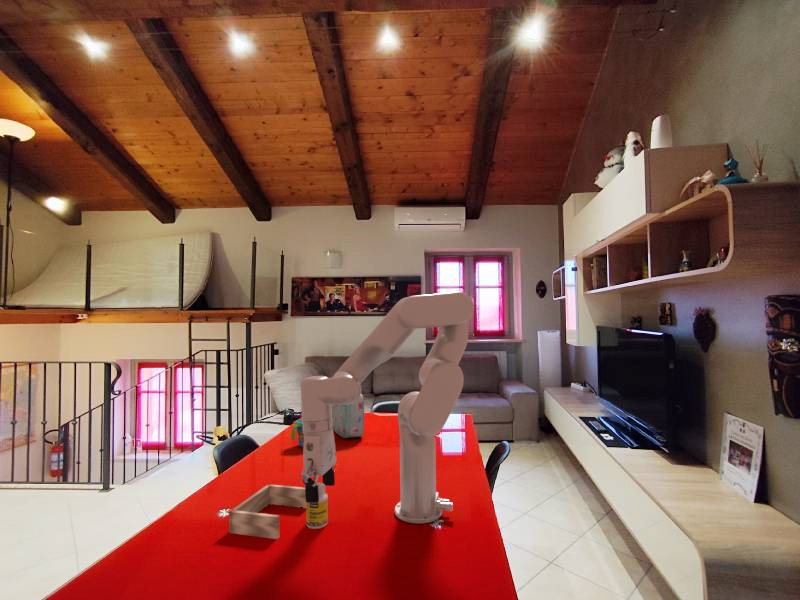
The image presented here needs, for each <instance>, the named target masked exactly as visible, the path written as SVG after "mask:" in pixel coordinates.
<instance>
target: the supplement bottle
mask: <svg viewBox="0 0 800 600" xmlns="http://www.w3.org/2000/svg"><path fill="white" fill-rule="evenodd" d="M316 485H318V493H319V502H318V503H309V502H307V506H306V508H305V509H306V510H305V513H306V516H305V519H306V520H305V523H306V526H307V527H308V528H309V529H313V530H316V529H317V530H318V529H322V528H324V527H325V526H326V525H327V524H328V521H329V519H328V517H329V516H328V515H329V511H328V507H329V505H328V504H329V501H328V500H329V498H328V497H329V495H328V493H327V492H325V491H326V486H325V484H324V483H323V482H317V484H316Z"/></svg>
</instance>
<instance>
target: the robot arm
mask: <svg viewBox="0 0 800 600" xmlns="http://www.w3.org/2000/svg"><path fill="white" fill-rule="evenodd" d="M473 301H474V300H472V298H471V297H470V295H468V294H467V293H465V292H462V291H457V290H456V291H450V292H441V293H440V292H439V293H433V294H419V295H410V296H407V297H403V298H401V299H400V300H399V301H398V302H396V303H395V305H393V307H392V308H391V309H389V311H388V312H387V314H386V315H385V316H384V317H383V319H382V320H381V321H380V322H379V323H378V324H377V325H376V326H375V327H374V329H373V330H372V332H371V331H370V333H369V334H368V336H367V337H366V338H365V339H364V340H363V341H362V342H361V343H360V345H359V346H358V347H357V348H356V349H355V350H354V351H353V352H352V354H351V355H349V357H347V359H346V360H345V361H344V362H343V364H342V365H341V366H340V367H339V369H337V371H336V372H335V373H334V375H333V376H332V377H328V376H325V375H311V376H306V377H305V378H303V379H302V380H301V381H300V400H301V401H300V402H301V405H300V406H301V419H302V425H303V434H304V446H303V447H302V448H303V450H302V451H303V452H302V454H303V456H302V457H303V459H302V460H303V468H302V470H301V475H300V476H301V478H302V483H303V486H304V488H305V494H306V502H309V503H318V502H319V493H318V485H316V484H317V483H318V480H319V476H321V477H322V483H324V484H325V487H326V486H327V487H328V486H329V487H330V486H331V487H333V486H335V484H336V483H335V464H336V463H337V451H336V450H337V449H336V442H335V434H334V430H333V425H332V406H331V404H338V405H348V404H352V403H354V402H355V401H357V400H358V398H359V397H360V395H361V394H362V385H361V384H362V383H363V382H364V381H365V379H366V378H367V377H368V376H369V375H370V374H371V373H372V371H374V369H376V368H377V367H379V366H380V365H381V364H384V363H386V362H387V361H389V360H390V359H391V358H393V356H395V355H396V353H397V352H398V351H399V350H400V348H401V347H402V346H403V344H404V343H405V342H406V341H407V339H409V337H410V336H411V335H412V334H413V333H414V331H416V329H429V328H437V335H436V337H435V340H434V342H433V344H432V346H431V348H430V351H429V352H428V353H427V356H426V358H425V360H424V362H423V363H422V365H421V367H420V369H419V372H418V380H419V382H420V384H421V386H422V387H421V388H420V390H419V391H411V392H408V393H407V394H405V395H404V396H403V397H402V398H401V400H399V403H398V407H397V419H398V420H397V421H398V432H399V474H400V475H399V480H400V482H399V484H400V486H399V487H400V491H399V492H400V495H399V497H400V501H399V502H398V503H397V504H396V505H395V506H394V514H395V516H396V518H398V519H399V520H401V521H403V522H406V523H411V524H428V523H432V522H434V521H437V520H438V519H439V518H441V516H442V514H443V511H447V512H453V510H454V503H453V502H450V499H448V498H442V497H439V492H438V491H437V475H436V474H437V473H436V472H437V469H436V453H437V452H436V436H437V435H438V433H439V432H441V430H442V429H443V428H444V426H445V424H446V423H447V421H448V419H449V417H450V415H451V413H452V411H453V409H454V407H455V405H456V403H457V401H458V399H459V396H460V395H461V393H462V389H463V387H464V378H465V377H464V373H463V371H462V368H461V366H459V364H460V362H461V359H462V357H463V355H464V353H465V351H466V349H467V345H468V341H469V331H468V329H469V328H468V325H467V321H469V320H470V319H471V318H472V316H473V314H474V312H475V305H474V302H473ZM312 477H313V479H312Z"/></svg>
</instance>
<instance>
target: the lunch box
mask: <svg viewBox="0 0 800 600" xmlns="http://www.w3.org/2000/svg"><path fill="white" fill-rule="evenodd" d="M331 406H332V425H333V432H335V433H336V434H338V436H340V437H341V438H343V439H351V438H359V437H360V438H362V437H363V435H364V429H365V428H364V427H365V399H364V395H363V394H362V393H361V395H360V397H359V398H358V400H357V401H355V402H354V403H352V404H348V405H338V404H331Z"/></svg>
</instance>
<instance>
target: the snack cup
mask: <svg viewBox="0 0 800 600" xmlns="http://www.w3.org/2000/svg"><path fill="white" fill-rule="evenodd" d="M296 435H297V442H298V446H299V447H301V448H303V446H304V434H303V425H302V418H299V419H297V420H295V422H294V425H293V426H292V429H291V432H290V439H291V441H292V442H295V441H296Z"/></svg>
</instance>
